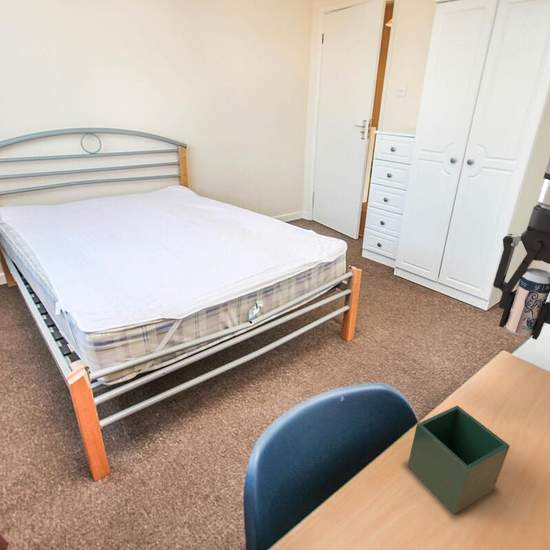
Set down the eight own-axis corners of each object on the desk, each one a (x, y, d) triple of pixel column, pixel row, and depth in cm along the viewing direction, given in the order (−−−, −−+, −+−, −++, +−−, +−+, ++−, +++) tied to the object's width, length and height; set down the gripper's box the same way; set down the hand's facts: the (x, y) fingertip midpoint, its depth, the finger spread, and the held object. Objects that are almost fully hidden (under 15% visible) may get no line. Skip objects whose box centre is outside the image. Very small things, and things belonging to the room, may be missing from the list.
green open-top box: (445, 448, 72) (457, 405, 67) (492, 491, 64) (510, 445, 60) (406, 468, 68) (417, 423, 63) (452, 517, 60) (468, 469, 55)
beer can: (521, 340, 68) (543, 279, 63) (498, 326, 72) (517, 268, 67) (539, 335, 70) (562, 276, 65) (516, 322, 74) (535, 265, 69)
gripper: (495, 200, 65) (462, 319, 74) (632, 224, 54) (573, 359, 63) (507, 194, 70) (475, 306, 79) (635, 215, 59) (580, 342, 68)
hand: (519, 329), depth 71 cm, fingers closed on beer can, 5 cm apart
